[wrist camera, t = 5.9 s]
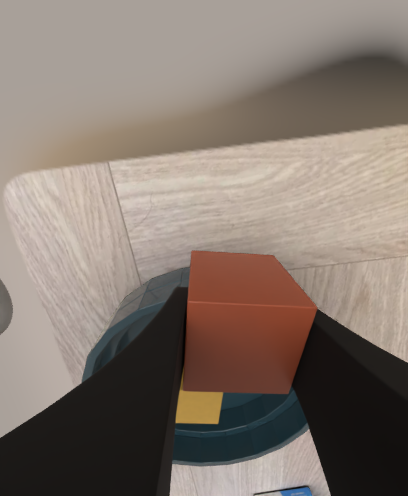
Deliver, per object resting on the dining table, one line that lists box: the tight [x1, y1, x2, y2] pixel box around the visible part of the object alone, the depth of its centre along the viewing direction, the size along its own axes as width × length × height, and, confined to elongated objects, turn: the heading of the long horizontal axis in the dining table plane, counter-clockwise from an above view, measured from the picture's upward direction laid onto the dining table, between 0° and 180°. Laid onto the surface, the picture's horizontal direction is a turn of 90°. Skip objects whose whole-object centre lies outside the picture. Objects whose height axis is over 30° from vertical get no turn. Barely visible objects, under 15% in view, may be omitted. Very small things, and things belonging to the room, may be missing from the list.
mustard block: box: [176, 367, 223, 424], centre depth 18 cm, size 4×4×4 cm
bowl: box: [82, 268, 309, 466], centre depth 18 cm, size 19×19×4 cm
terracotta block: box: [183, 251, 317, 394], centre depth 9 cm, size 4×4×4 cm
